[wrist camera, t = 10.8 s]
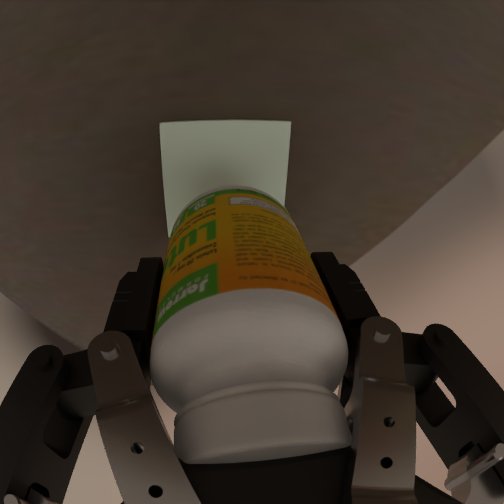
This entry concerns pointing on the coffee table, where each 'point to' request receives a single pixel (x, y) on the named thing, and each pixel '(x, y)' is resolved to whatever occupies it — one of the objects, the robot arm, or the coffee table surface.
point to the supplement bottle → (246, 335)
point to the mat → (222, 158)
